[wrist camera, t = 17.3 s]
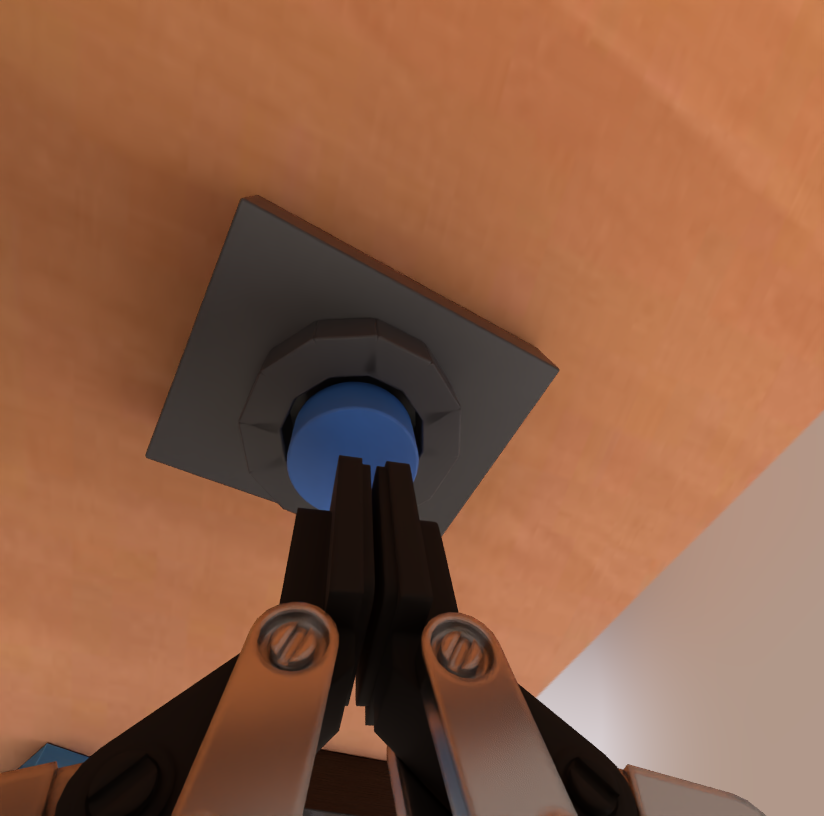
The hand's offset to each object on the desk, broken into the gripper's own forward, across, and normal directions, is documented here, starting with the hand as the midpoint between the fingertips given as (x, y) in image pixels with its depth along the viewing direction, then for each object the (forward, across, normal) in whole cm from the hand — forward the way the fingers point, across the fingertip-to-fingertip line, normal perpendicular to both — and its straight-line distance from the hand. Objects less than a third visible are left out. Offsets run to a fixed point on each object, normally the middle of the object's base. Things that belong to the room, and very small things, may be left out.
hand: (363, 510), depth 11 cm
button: (+4, 0, 0) cm, 4 cm away
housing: (+7, 0, 0) cm, 7 cm away
